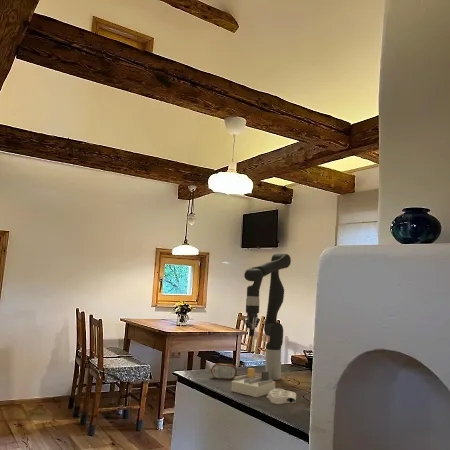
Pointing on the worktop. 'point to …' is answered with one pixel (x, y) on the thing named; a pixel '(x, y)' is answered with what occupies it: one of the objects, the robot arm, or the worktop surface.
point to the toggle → (265, 376)
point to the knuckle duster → (281, 396)
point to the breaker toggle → (251, 373)
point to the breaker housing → (252, 386)
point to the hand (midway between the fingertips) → (251, 335)
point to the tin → (224, 371)
